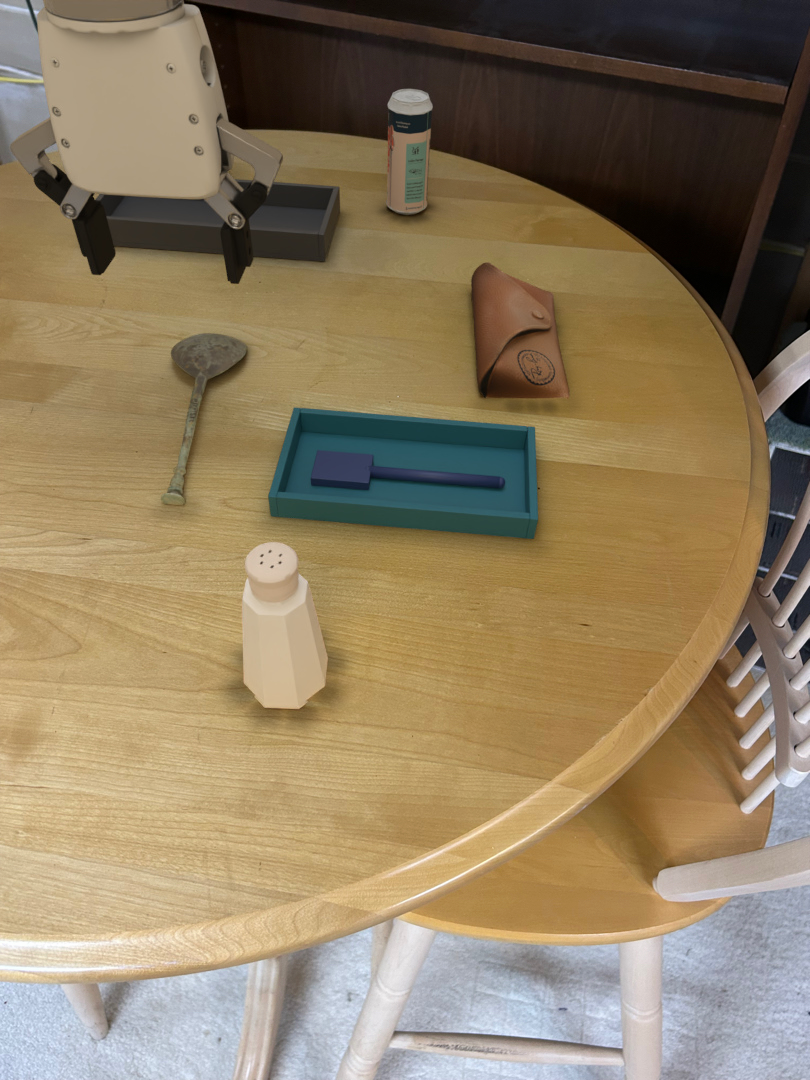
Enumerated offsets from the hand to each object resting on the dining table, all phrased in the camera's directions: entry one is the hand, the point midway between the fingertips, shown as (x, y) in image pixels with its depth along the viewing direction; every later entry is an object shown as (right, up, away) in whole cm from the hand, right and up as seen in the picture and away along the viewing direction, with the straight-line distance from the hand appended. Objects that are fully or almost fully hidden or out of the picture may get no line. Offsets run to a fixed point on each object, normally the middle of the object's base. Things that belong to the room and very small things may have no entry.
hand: (171, 269), depth 57 cm
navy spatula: (+17, -14, +5) cm, 23 cm away
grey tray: (-4, +15, +31) cm, 35 cm away
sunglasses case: (+27, -1, +18) cm, 33 cm away
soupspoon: (-1, -9, +10) cm, 13 cm away
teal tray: (+17, -15, +5) cm, 23 cm away
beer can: (+17, +19, +36) cm, 44 cm away
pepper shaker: (+9, -28, -7) cm, 30 cm away
